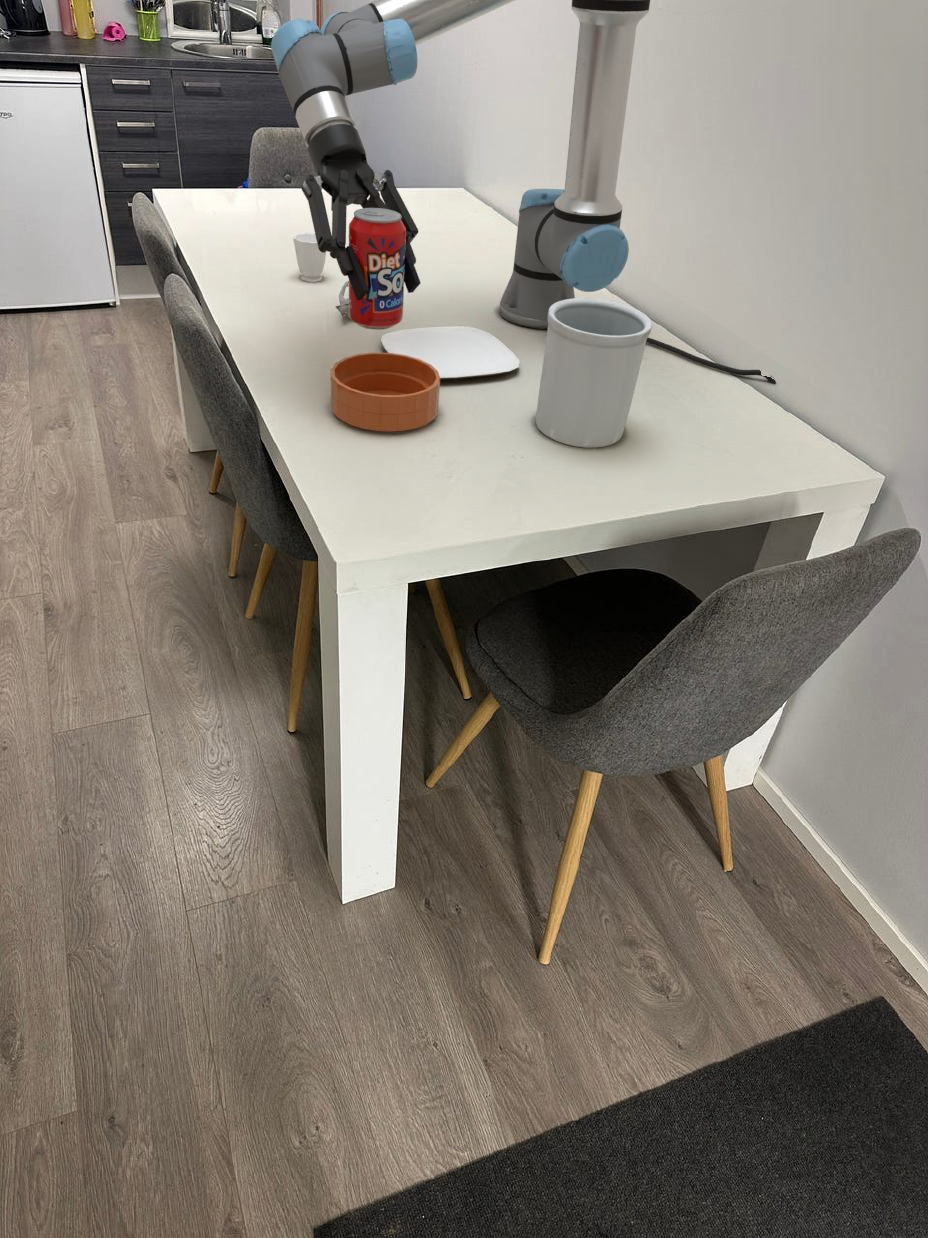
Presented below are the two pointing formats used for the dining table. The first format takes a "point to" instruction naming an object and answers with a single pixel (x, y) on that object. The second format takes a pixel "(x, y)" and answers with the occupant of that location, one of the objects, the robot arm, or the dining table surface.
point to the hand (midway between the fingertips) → (389, 291)
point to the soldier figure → (343, 301)
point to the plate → (453, 350)
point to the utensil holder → (590, 370)
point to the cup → (309, 257)
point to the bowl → (384, 391)
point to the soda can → (378, 267)
